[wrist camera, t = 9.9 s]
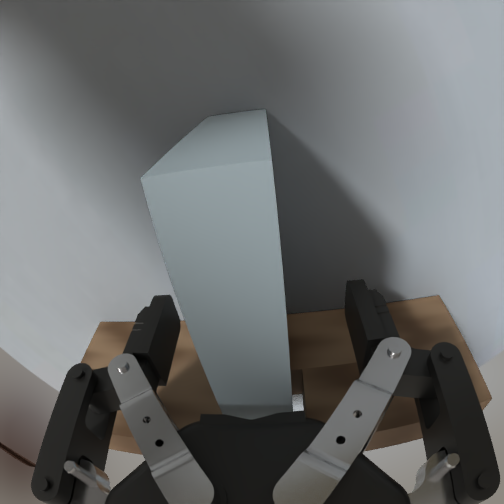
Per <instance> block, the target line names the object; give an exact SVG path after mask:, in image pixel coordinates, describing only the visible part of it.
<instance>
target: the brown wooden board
mask: <svg viewBox="0 0 504 504" xmlns="http://www.w3.org/2000/svg"><path fill="white" fill-rule="evenodd" d="M386 305H387V307H388V309H389V313H390V314H391V316H392V319H393V321H394V324H395V326H396V329H397V331H398V334H399V336H400V338H401V339H403V340H405V341H406V342H407V343H408V344H409V345H410V347H412V348H415V349H422V350H431V349H432V347H433V346H434V345H435V344H437V343H440V342H448V343H451V344H453V345H455V346H456V347H457V348H458V349H459V350H460V352H461V355H462V357H463V360H464V362H465V365H466V367H467V370H468V372H469V375H470V377H471V380H472V383H473V385H474V388H475V391H476V394H477V397H478V399H479V402H480V405H481V408H482V411H483V409H484V408H485V407H486V406H487V404H488V403H489V402H490V400H491V399H492V397H491V395H490V392H489V390H488V388H487V386H486V383H485V381H484V379H483V377H482V375H481V373H480V370H479V368H478V366H477V364H476V362H475V360H474V358H473V356H472V354H471V352H470V350H469V348H468V346H467V344H466V342H465V341H464V339H463V337H462V335H461V333H460V331H459V329H458V328H457V326H456V324H455V322H454V320H453V319H452V317H451V315H450V313H449V312H448V310H447V308H446V306H445V305H444V303H443V301H442V300H441V298H440V296H439V295H437V296H431V297H425V298H418V299H412V300H405V301H398V302H391V303H386ZM286 315H287V329H288V342H289V357H290V372H291V388H292V395H293V394H303V406H304V411H305V417H307V418H313V419H317V420H319V421H322V422H324V423H327V421H328V420H329V418H330V417H331V415H332V414H333V412H334V411H335V410H336V408H337V407H338V405H339V404H340V402H341V401H342V399H343V398H344V396H345V394H346V393H347V391H348V390H349V388H350V387H351V385H352V384H353V382H354V381H355V380H356V379H359V378H360V374H359V370H358V365H357V361H356V357H355V353H354V349H353V345H352V341H351V337H350V334H349V330H348V326H347V322H346V318H345V308H344V309H335V310H326V311H316V312H306V313H295V314H286ZM134 324H135V322H100V324H99V326H98V328H97V330H96V332H95V334H94V336H93V338H92V340H91V342H90V344H89V346H88V348H87V350H86V352H85V355H84V357H83V359H82V361H81V363H86V364H88V365H89V366H90V367H91V368H92V370H95V369H99V368H103V367H107V366H108V365H109V363H110V361H111V360H112V359H113V358H114V357H116V356H118V355H120V354H122V353H123V351H124V348H125V346H126V343H127V341H128V338H129V336H130V333H131V331H132V328H133V326H134ZM180 325H181V328H180V334H179V338H178V341H177V345H176V349H175V353H174V357H173V361H172V365H171V369H170V373H169V377H168V381H167V385H166V386H158V387H157V391H156V392H157V394H158V395H159V397H160V399H161V401H162V402H163V404H164V406H165V407H166V409H167V411H168V412H169V414H170V416H171V417H172V419H173V420H174V422H175V423H176V425H177V426H178V428H179V429H181V428H183V427H184V426H186V425H189V424H191V423H194V422H197V421H200V416H201V414H222V412H221V409H220V407H219V405H218V403H217V400H216V398H215V396H214V393H213V391H212V388H211V386H210V384H209V381H208V379H207V376H206V374H205V372H204V369H203V367H202V364H201V362H200V359H199V357H198V354H197V352H196V349H195V346H194V344H193V341H192V339H191V336H190V333H189V331H188V328H187V325H186V323H185V321H180ZM421 438H423V436H422V431H421V426H420V421H419V417H418V413H417V408H416V404H415V400H414V398H410V397H399V396H394V398H393V400H392V402H391V404H390V406H389V407H388V409H387V411H386V413H385V415H384V417H383V419H382V421H381V422H380V424H379V426H378V428H377V430H376V432H375V434H374V435H373V437H372V439H371V441H370V443H369V444H368V446H367V448H366V449H365V451H369V450H373V449H378V448H384V447H388V446H392V445H397V444H401V443H405V442H409V441H413V440H417V439H421ZM109 449H113V450H118V451H124V452H129V453H135V454H142V452H141V451H140V449H139V447H138V445H137V443H136V441H135V439H134V437H133V435H132V433H131V430H130V428H129V426H128V424H127V422H126V420H125V418H124V415H123V413H122V411H121V410H118V411H117V414H116V418H115V423H114V427H113V431H112V436H111V440H110V445H109ZM142 455H143V454H142Z"/></svg>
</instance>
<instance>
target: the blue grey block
mask: <svg viewBox="0 0 504 504" xmlns="http://www.w3.org/2000/svg"><path fill="white" fill-rule="evenodd" d="M140 179H141V183H142V187H143V191H144V194H145V198H146V202H147V205H148V209H149V212H150V216H151V219H152V223H153V226H154V229H155V233H156V236H157V239H158V243H159V246H160V249H161V252H162V255H163V258H164V262H165V265H166V268H167V271H168V274H169V277H170V280H171V283H172V286H173V289H174V292H175V295H176V297H177V300H178V303H179V306H180V309H181V312H182V314H183V317H184V320H185V323H186V325H187V328H188V331H189V333H190V336H191V339H192V341H193V344H194V346H195V349H196V352H197V354H198V357H199V359H200V362H201V364H202V367H203V369H204V372H205V374H206V376H207V379H208V381H209V384H210V386H211V388H212V391H213V393H214V396H215V398H216V400H217V403H218V405H219V407H220V409H221V412H222V414H226V415H231V416H235V417H240V418H245V419H250V420H252V419H257V418H261V417H265V416H268V415H272V414H275V413H280V412H293V405H292V388H291V372H290V357H289V342H288V329H287V315H286V303H285V290H284V279H283V267H282V256H281V245H280V234H279V224H278V214H277V204H276V194H275V185H274V175H273V166H272V157H271V149H270V140H269V132H268V124H267V116H266V109H261V110H252V111H243V112H236V113H228V114H222V115H215V116H209V117H207V118H206V119H205V120H203V121H202V122H201V123H200V124H199V125H198V126H196V127H195V128H194V129H193V130H192V131H191V132H190V133H188V134H187V135H186V136H185V137H184V138H183V139H182V140H180V141H179V142H178V143H177V144H176V145H175V146H174V147H173V148H172V149H171V150H169V151H168V152H167V153H166V154H165V155H164V156H163V157H162V158H161V159H160V160H159V161H158V162H157V163H156V164H155V165H154V166H153V167H151V168H150V169H149V170H148V171H147V172H146V173H145V174H144V175H143V176H142V177H141V178H140Z"/></svg>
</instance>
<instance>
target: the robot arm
mask: <svg viewBox="0 0 504 504" xmlns="http://www.w3.org/2000/svg"><path fill="white" fill-rule="evenodd" d="M345 318H346V322H347V326H348V330H349V334H350V337H351V341H352V345H353V349H354V353H355V357H356V361H357V365H358V370H359V374H360V378H359V379H356V380H355V381H354V382H353V384H352V385H351V387H350V388H349V390H348V391H347V393H346V394H345V396H344V398H343V399H342V401H341V402H340V404H339V405H338V407H337V408H336V410H335V411H334V412H333V414H332V415H331V417H330V418H329V420H328V421H327V423H324V422H322V421H319V420H317V419H313V418H307V417H305V411H294V412H280V413H275V414H272V415H268V416H265V417H261V418H257V419H252V420H250V419H245V418H240V417H235V416H231V415H226V414H201V416H200V421H197V422H194V423H191V424H189V425H186V426H184V427H183V428H181V429H179V428H178V426H177V425H176V423H175V422H174V420H173V419H172V417H171V416H170V414H169V412H168V411H167V409H166V407H165V406H164V404H163V402H162V401H161V399H160V397H159V395H158V394H157V392H156V391H157V387H158V386H166V385H167V381H168V377H169V373H170V369H171V365H172V361H173V357H174V353H175V349H176V345H177V341H178V338H179V334H180V328H181V325H180V319H179V316H178V313H177V310H176V308H175V305H174V302H173V299H172V297H171V296H170V295H158V296H154V297H153V299H152V302H151V304H150V307H145V308H144V309H143V310H142V311H141V312H140V313H139V314H138V316H137V319H136V321H135V324H134V326H133V328H132V331H131V333H130V336H129V338H128V341H127V343H126V346H125V348H124V351H123V353H122V354H120V355H118V356H116V357H114V358H113V359H112V360H111V361H110V363H109V365H108V366H107V367H103V368H99V369H95V370H92V368H91V367H90V366H89V365H88V364H86V363H79V364H76V365H74V366H73V367H72V368H71V369H70V370H69V371H68V373H67V375H66V378H65V380H64V383H63V385H62V388H61V390H60V393H59V396H58V399H57V401H56V404H55V407H54V410H53V412H52V415H51V418H50V421H49V424H48V427H47V430H46V433H45V436H44V439H43V442H42V446H41V449H40V453H39V456H38V459H37V463H36V466H35V470H34V474H33V478H32V482H31V488H32V492H33V494H34V495H35V497H36V498H37V499H39V500H41V501H43V502H45V503H47V504H479V503H480V502H482V501H484V500H486V499H488V498H489V497H491V496H492V495H493V494H494V493H495V492H496V490H497V489H498V487H499V484H500V474H499V469H498V465H497V461H496V457H495V452H494V449H493V445H492V441H491V438H490V434H489V431H488V427H487V424H486V421H485V418H484V414H483V411H482V408H481V405H480V402H479V399H478V397H477V394H476V391H475V388H474V385H473V383H472V380H471V377H470V375H469V372H468V370H467V367H466V365H465V362H464V360H463V357H462V355H461V352H460V350H459V349H458V348H457V347H456V346H455V345H453V344H451V343H448V342H440V343H437V344H435V345H434V346H433V347H432V349H431V350H422V349H415V348H412V347H410V345H409V344H408V343H407V342H406V341H405V340H403V339H401V338H400V336H399V334H398V331H397V329H396V326H395V324H394V321H393V319H392V316H391V314H390V313H389V309H388V307H387V305H386V302H385V300H384V298H383V296H382V295H381V294H380V293H379V292H378V291H377V290H376V289H373V290H368V289H367V286H366V284H365V281H364V280H363V279H361V280H352V281H347V284H346V296H345ZM394 396H399V397H410V398H414V400H415V404H416V408H417V413H418V417H419V421H420V426H421V431H422V436H423V441H424V445H425V451H426V457H427V462H426V463H424V465H422V466H421V467H420V469H419V470H418V472H417V475H416V484H415V488H414V490H413V491H412V493H409V494H407V492H406V491H405V489H404V488H403V487H402V486H401V485H400V484H398V483H397V482H396V481H395V480H393V479H392V478H391V477H389V476H388V475H387V474H386V473H385V472H383V471H382V470H381V469H380V468H378V466H376V465H375V464H374V463H373V462H372V461H370V460H369V459H368V458H367V457H365V455H363V452H364V451H365V449H366V448H367V446H368V444H369V443H370V441H371V439H372V437H373V435H374V434H375V432H376V430H377V428H378V426H379V424H380V422H381V421H382V419H383V417H384V415H385V413H386V411H387V409H388V407H389V406H390V404H391V402H392V400H393V398H394ZM118 410H121V411H122V413H123V415H124V418H125V420H126V422H127V424H128V426H129V428H130V430H131V433H132V435H133V437H134V439H135V441H136V443H137V445H138V447H139V449H140V451H141V452H142V454H143V456H144V458H145V461H144V462H143V463H142V464H141V465H139V466H138V467H137V468H136V469H135V470H134V471H133V472H131V473H130V474H129V475H128V476H127V477H126V478H124V479H123V480H122V481H121V482H120V483H119V484H117V485H116V486H115V487H114V488H113V489H112V490H111V491H110V482H109V478H108V476H107V474H106V473H105V472H104V469H105V464H106V459H107V453H108V449H109V445H110V440H111V436H112V431H113V427H114V423H115V418H116V414H117V411H118Z"/></svg>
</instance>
